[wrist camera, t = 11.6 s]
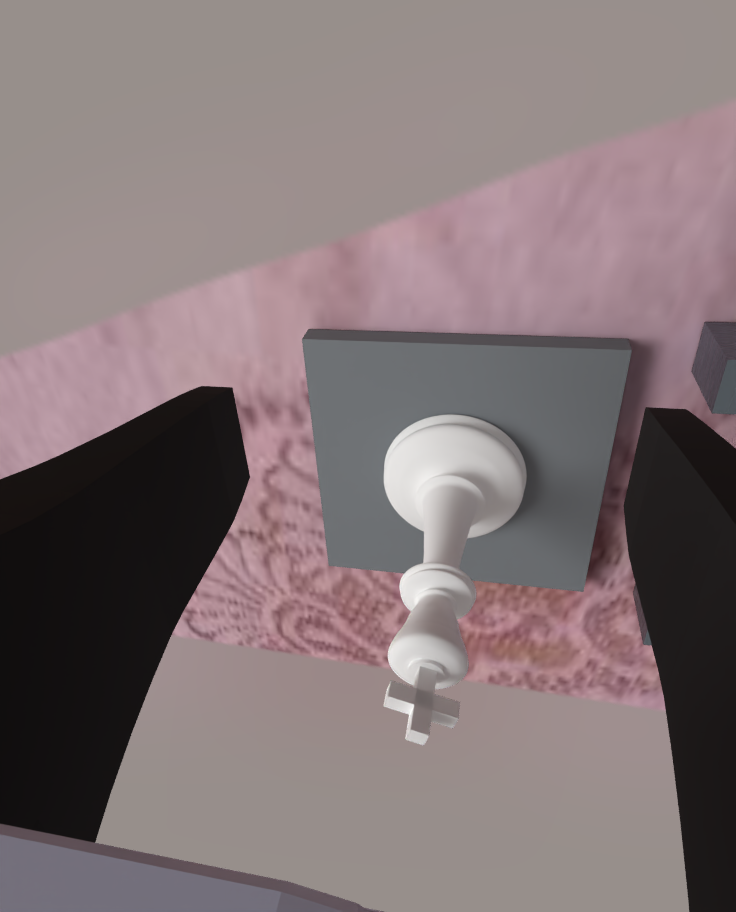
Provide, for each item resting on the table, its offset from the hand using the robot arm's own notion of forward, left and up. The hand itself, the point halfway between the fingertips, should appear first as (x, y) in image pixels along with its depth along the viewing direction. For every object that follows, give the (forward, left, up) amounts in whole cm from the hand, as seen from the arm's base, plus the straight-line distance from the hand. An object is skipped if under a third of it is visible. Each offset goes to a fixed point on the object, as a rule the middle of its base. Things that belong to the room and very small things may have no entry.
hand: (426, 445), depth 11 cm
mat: (0, +7, -9) cm, 12 cm away
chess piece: (0, +7, -9) cm, 11 cm away
